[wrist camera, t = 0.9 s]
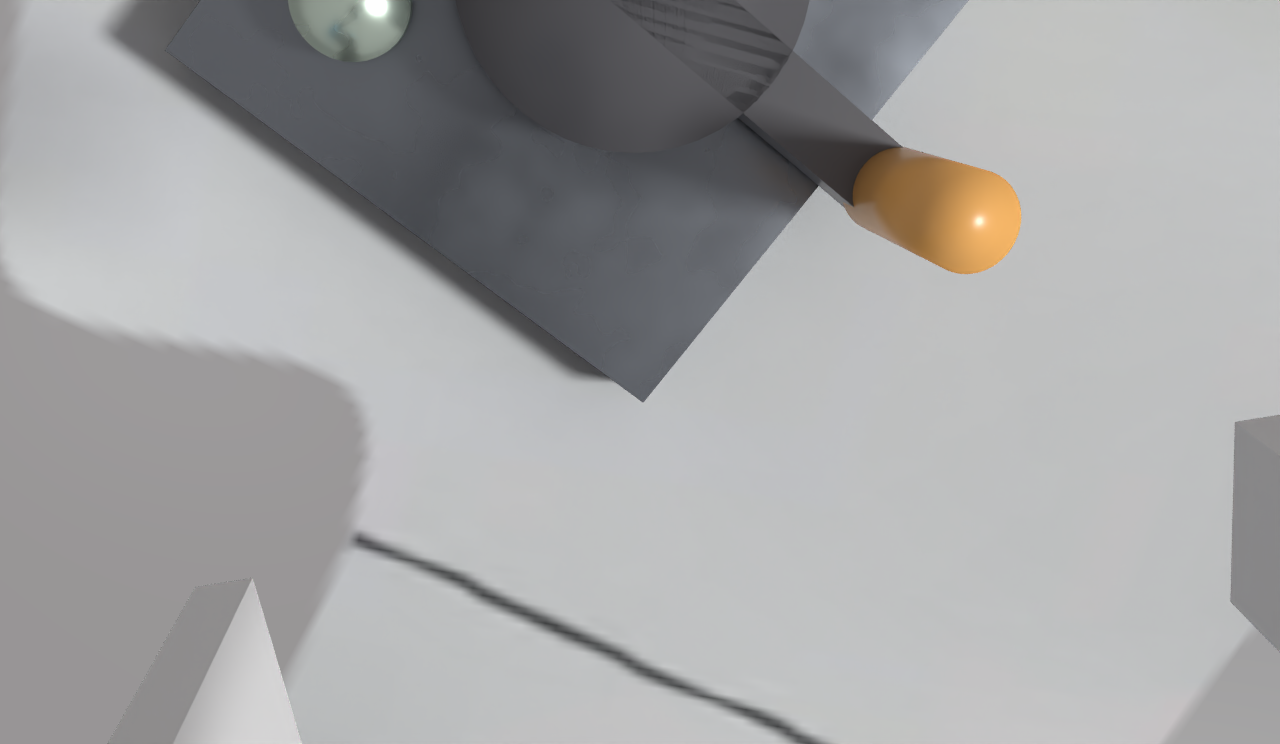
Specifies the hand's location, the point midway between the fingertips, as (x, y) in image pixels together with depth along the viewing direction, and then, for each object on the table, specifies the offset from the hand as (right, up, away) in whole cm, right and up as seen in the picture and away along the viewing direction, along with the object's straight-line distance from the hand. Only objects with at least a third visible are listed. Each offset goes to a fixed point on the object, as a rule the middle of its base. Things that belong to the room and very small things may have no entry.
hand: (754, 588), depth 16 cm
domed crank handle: (0, +12, +17) cm, 20 cm away
